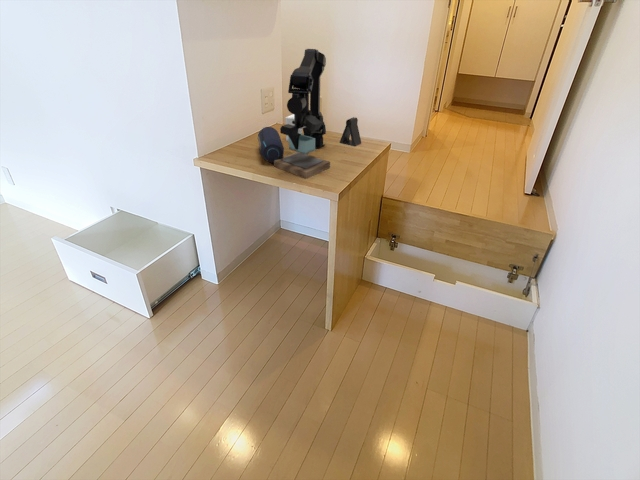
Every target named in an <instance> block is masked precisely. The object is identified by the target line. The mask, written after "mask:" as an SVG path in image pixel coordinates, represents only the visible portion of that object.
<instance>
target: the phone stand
mask: <svg viewBox="0 0 640 480" xmlns="http://www.w3.org/2000/svg"><path fill="white" fill-rule="evenodd" d="M358 122H359V119H358V117H356V116H353V117H351V118H348V119H347V120H346V121H345V127H344V130H343V133H342V135H341V138H340V140H339V143H340V144H343V145H347V146H351V147H357V146H359V145H361V144H362V139H361V135H360V130H359V126H358Z"/></svg>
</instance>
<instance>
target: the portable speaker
mask: <svg viewBox="0 0 640 480" xmlns="http://www.w3.org/2000/svg"><path fill="white" fill-rule="evenodd" d="M257 141H258V146H259V153H260V155H261V157H262V159H264V161H266V162H269V163H274V160H277V159H281V158H282V157H284V155H285V149H284V148H285V147H284V144H283V141H282V139H281V135H280V133H279V131H278V130H277V129H275V128H274V127H273V126H272V127H271V126H266V127H262V129H260V131H259V132H258V134H257Z"/></svg>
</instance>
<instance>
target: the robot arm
mask: <svg viewBox="0 0 640 480" xmlns="http://www.w3.org/2000/svg"><path fill="white" fill-rule="evenodd" d="M301 60H302V61H301V63H300V65H299V66H298V67H297V68H294V70H293V71H292V73H291V74H290V76H289V78H290V79H289V85H288V90H287V92H288V94H291V97H290V98H289V99H288V101H287V102H286V108H287V110H288V112H289V113H290V114H291V115H292V114H294V121H292V124H295V125H294V126H293V125H290V124H287V125H286V124H282V125H281V126H280V127H279V129H280V130H279V131H280V133H279V134H282V135H285V136H286V135H288V136H289V138H290V139H291V141H292V143H293V145H294V147H295V149H298V141H299V136H300V135H301V134H299V132H298V130H299V129H302V134H303V135H306V136H309V137H312V138H315V150H317V149H320V148H322V147H324V146H325V144H324V135H327V131H326V130H327V128H326V124H325V121H324V116H323V114H322V113H321V77H322V75H323V73H324V71H325V68H326V64H327V58H326V55H325V54H324V53H322V52H320V51H319V49H316V48H305V50H304V54H303V58H302V59H301Z"/></svg>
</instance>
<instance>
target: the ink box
mask: <svg viewBox="0 0 640 480" xmlns="http://www.w3.org/2000/svg"><path fill="white" fill-rule="evenodd" d="M292 121H294V114H292V113H291V115H288V116H285V125H287V124H290V125H293V126H294V125H295V124H292ZM298 132H299V134H302V135H303V128H302V129H299V130H298ZM285 141H286V142H289V136H288V135H285Z"/></svg>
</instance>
